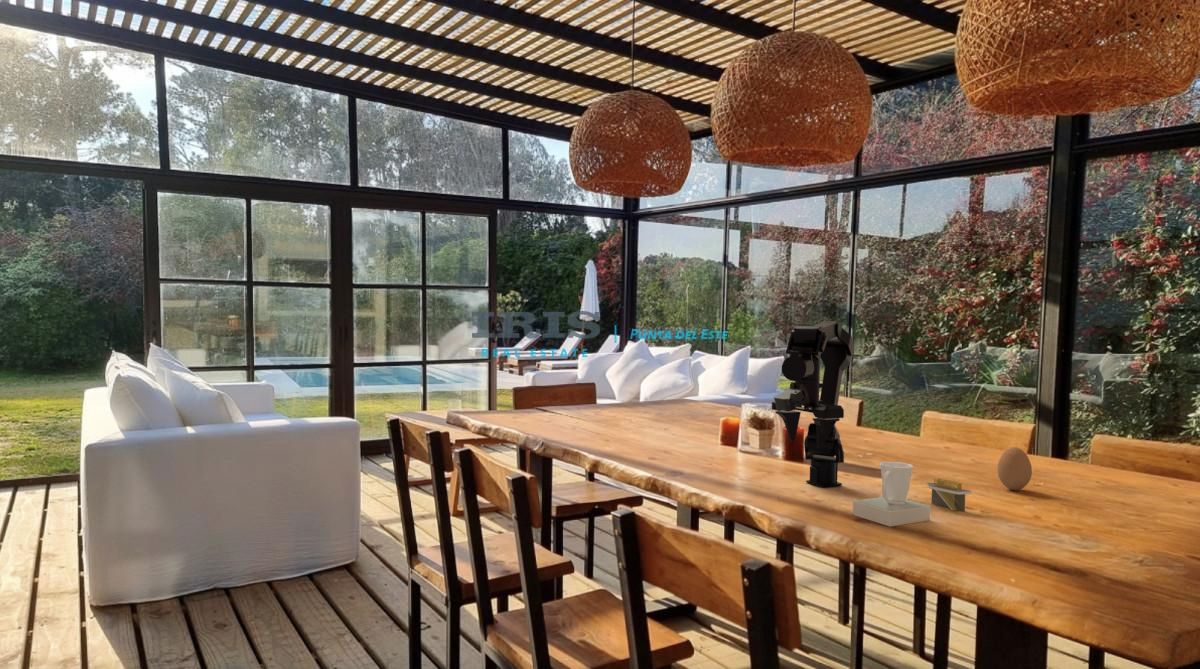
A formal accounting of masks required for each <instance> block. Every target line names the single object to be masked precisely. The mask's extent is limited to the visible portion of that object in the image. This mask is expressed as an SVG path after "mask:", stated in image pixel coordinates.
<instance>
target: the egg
mask: <svg viewBox="0 0 1200 669" xmlns="http://www.w3.org/2000/svg"><path fill="white" fill-rule="evenodd" d="M996 469H997V476H998V478H999V480H1000V482H1001V483H1002V485H1003V486H1005V488H1007V489H1009V490H1011V491H1020V490H1022V489H1024V488H1025V487H1027V485H1028V484H1029V483H1030V482H1031V480H1032V475H1033V474H1032V473H1033V472H1032V471H1033V469H1032V463H1031V460H1030V459H1029V456H1028V455H1027V453H1026V452H1025V451H1024V450H1023V449H1021V448H1019V447H1016V446H1013V447H1009V448H1008V449H1005V450H1004V451H1003V453H1002V454H1001V456H1000V458H999V459H998V463H997V468H996Z"/></svg>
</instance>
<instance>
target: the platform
mask: <svg viewBox="0 0 1200 669" xmlns="http://www.w3.org/2000/svg"><path fill="white" fill-rule="evenodd" d="M962 483H963V482H959V481H958V482H957V481H951V480H948V479H944V478H943V479H942V478H937V479H933V482H927V484H926V485H927V488H928V489H931V504H932V505H936V506H940V507H945V508H948V509H950V510H951V511H961V512H965V511H966V495H972V490H968V489H963V487H962Z"/></svg>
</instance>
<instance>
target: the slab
mask: <svg viewBox="0 0 1200 669" xmlns="http://www.w3.org/2000/svg"><path fill="white" fill-rule="evenodd" d="M903 500H905V501H906V504H889V503H887V502H885V499H884V498H883V496H878V497H871V498H864V499H857V500H852V516H855V517H859V518H862V519H865V520H868V521H871V522H874V523H878V524H881V525H883V526H887V527H894V526H901V525H907V524H914V523H920V522H927V521H930V520H931V505H929V504H924V503H921V502H917V501H913V500H910V499H907V498H906V499H903Z"/></svg>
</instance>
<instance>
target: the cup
mask: <svg viewBox="0 0 1200 669" xmlns="http://www.w3.org/2000/svg"><path fill="white" fill-rule="evenodd" d="M879 467H880V474H881V483H882V484H881V494H882V497H883V498H884V499H885V502H887V503H889V504H906V501H905V500H903V499H907V498H908V494H909V490H910V486H911V485H910V484H911V479H912V475H913V474H912V473H913V469H914V467H913V464H910V463H906V462H901V461H881V462H879Z"/></svg>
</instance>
